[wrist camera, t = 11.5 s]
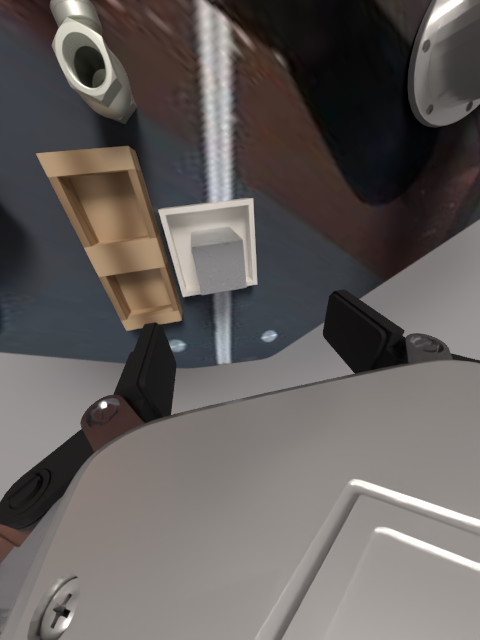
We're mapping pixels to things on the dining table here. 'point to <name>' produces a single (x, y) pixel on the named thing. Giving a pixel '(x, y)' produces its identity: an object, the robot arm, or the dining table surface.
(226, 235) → the gray rectangular block
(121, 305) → the wooden compartment tray
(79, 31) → the valve
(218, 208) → the dish
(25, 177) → the dining table surface
